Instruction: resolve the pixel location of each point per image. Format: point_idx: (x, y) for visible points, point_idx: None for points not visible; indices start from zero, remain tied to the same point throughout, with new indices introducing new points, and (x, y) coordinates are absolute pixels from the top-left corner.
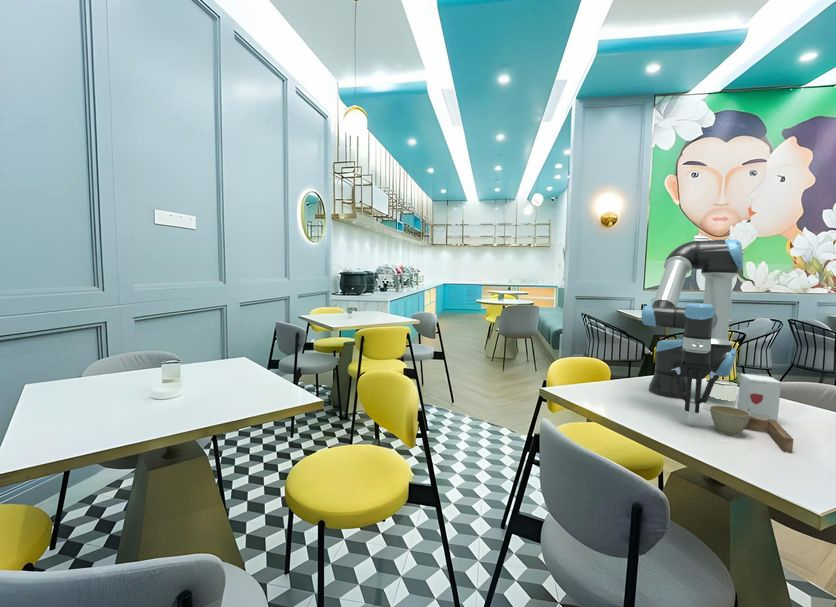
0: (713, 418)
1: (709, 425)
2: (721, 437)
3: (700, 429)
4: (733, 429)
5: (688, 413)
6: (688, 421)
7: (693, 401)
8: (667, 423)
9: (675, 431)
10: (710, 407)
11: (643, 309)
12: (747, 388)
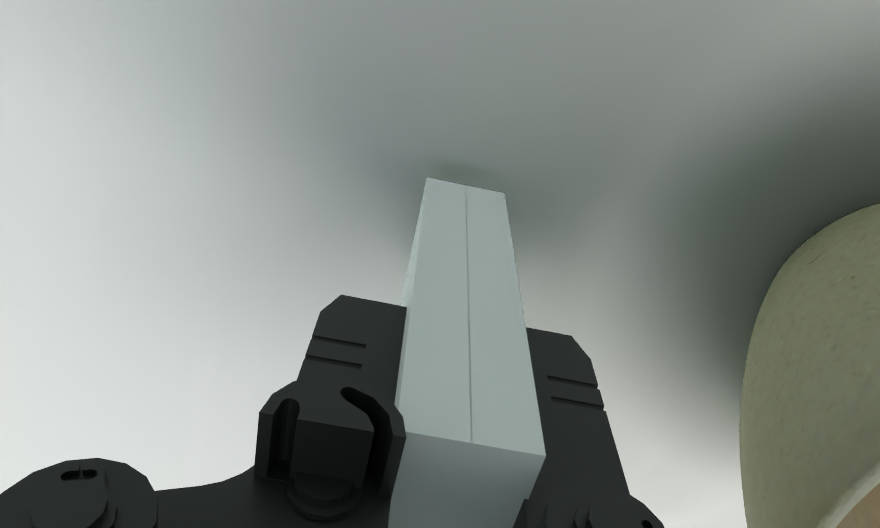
0: (742, 452)
1: (783, 73)
2: (662, 475)
3: (536, 313)
4: (870, 496)
5: (413, 266)
6: (403, 288)
7: (512, 455)
8: (147, 237)
9: (221, 468)
10: (850, 505)
11: None
12: None
